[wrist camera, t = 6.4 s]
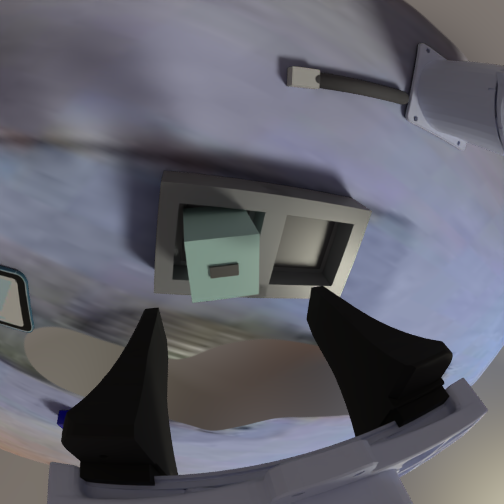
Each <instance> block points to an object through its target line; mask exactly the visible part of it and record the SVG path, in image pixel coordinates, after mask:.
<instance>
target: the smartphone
mask: <svg viewBox="0 0 504 504" xmlns="http://www.w3.org/2000/svg"><path fill="white" fill-rule="evenodd" d="M28 289H29V288H28V281H27V278H26V277H25V275H24V274H23V273H22V272H20V271H18V270H14V269H10V268H6V267H3V266H0V325H3V326H6V327H9V328H13V329H16V330H20V331H23V332H27V333H29V332H32V331H33V328H34V322H33V318H32V310H31V306H30V296H29V290H28Z"/></svg>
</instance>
